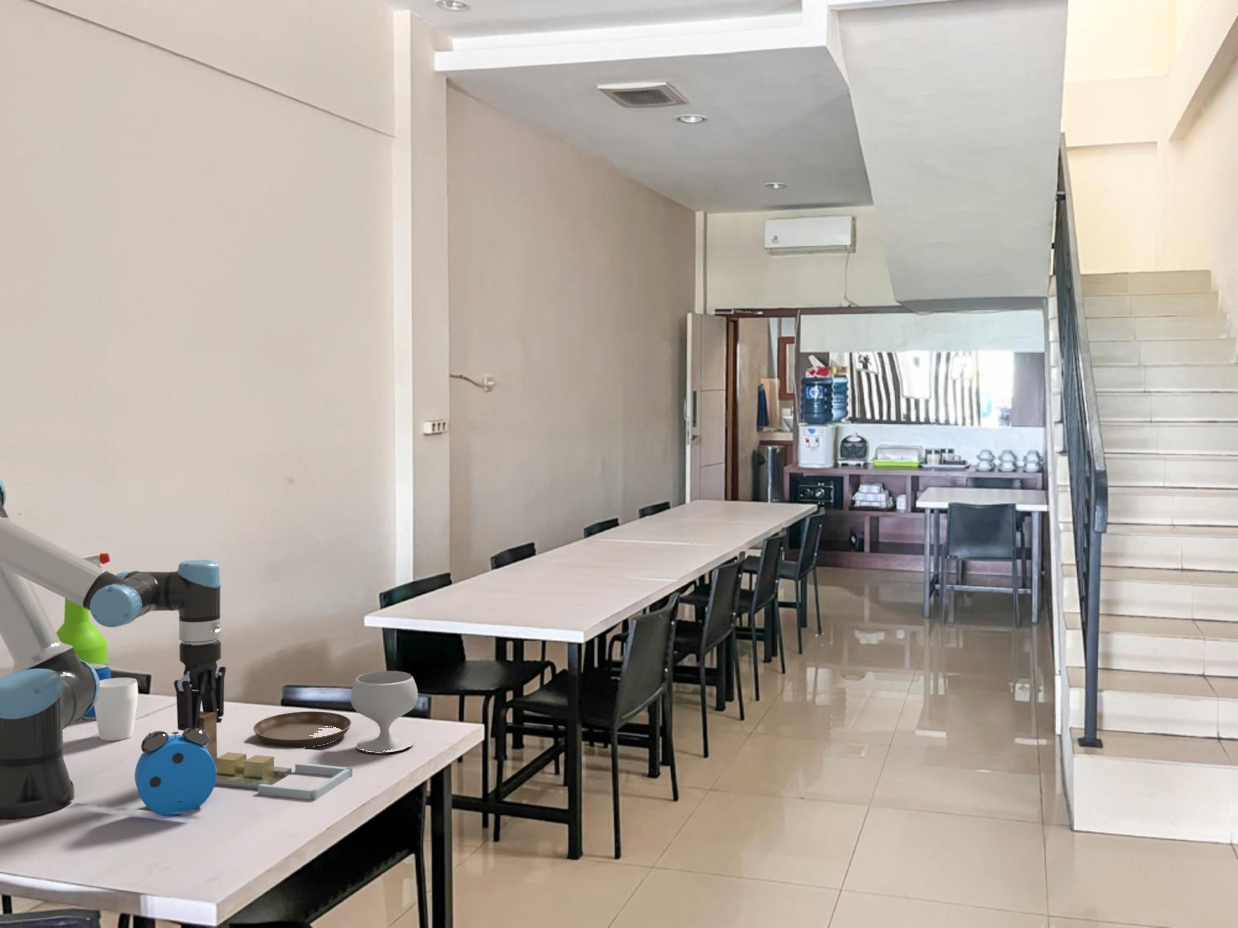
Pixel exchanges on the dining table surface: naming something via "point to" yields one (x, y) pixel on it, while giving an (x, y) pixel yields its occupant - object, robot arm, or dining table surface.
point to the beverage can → (103, 674)
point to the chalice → (384, 705)
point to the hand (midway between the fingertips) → (201, 759)
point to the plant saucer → (300, 728)
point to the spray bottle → (84, 626)
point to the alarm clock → (175, 771)
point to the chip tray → (313, 794)
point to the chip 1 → (230, 765)
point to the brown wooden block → (210, 731)
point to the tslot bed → (252, 783)
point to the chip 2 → (259, 767)
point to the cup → (116, 708)
